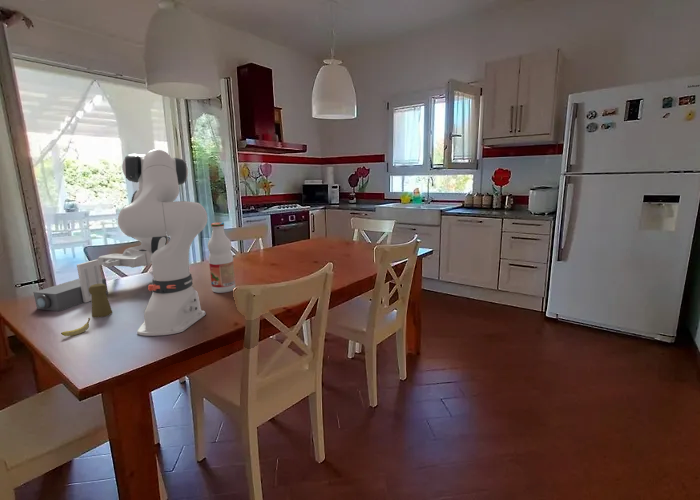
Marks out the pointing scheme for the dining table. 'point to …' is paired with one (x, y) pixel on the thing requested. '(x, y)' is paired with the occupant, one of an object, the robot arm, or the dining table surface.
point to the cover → (89, 277)
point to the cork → (99, 301)
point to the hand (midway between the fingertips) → (105, 264)
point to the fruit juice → (221, 260)
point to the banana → (77, 330)
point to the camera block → (60, 296)
